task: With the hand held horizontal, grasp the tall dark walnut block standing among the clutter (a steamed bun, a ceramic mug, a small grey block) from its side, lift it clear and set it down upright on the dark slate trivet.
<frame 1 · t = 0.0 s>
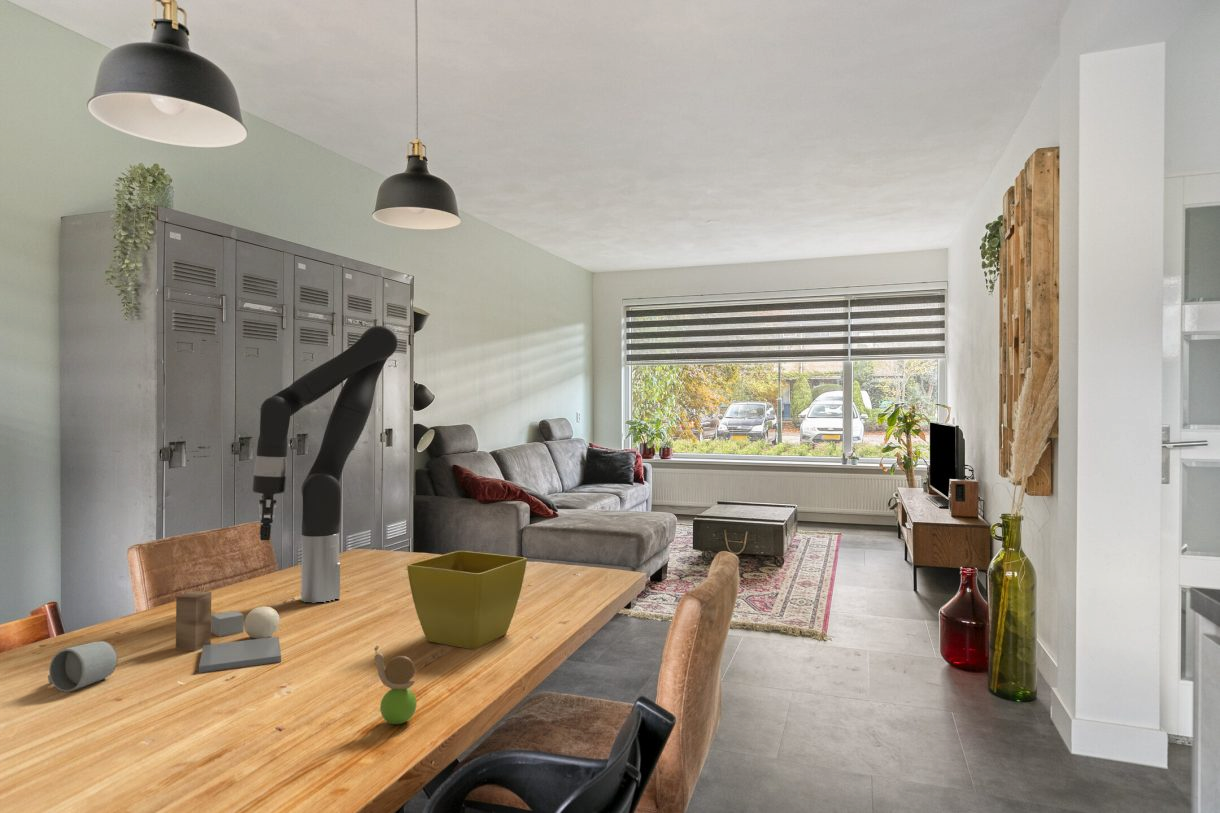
hand: (264, 537, 184), 17 cm above the table, tool pointing down, fingers open, 8 cm apart
grey block: (227, 632, 161), on the table
walnut block: (193, 647, 150), on the table
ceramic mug: (77, 685, 129), on the table
snail figurine: (395, 724, 113), on the table
flower pot: (468, 639, 157), on the table
slate trivet: (241, 656, 145), on the table
steamed bun: (262, 638, 157), on the table
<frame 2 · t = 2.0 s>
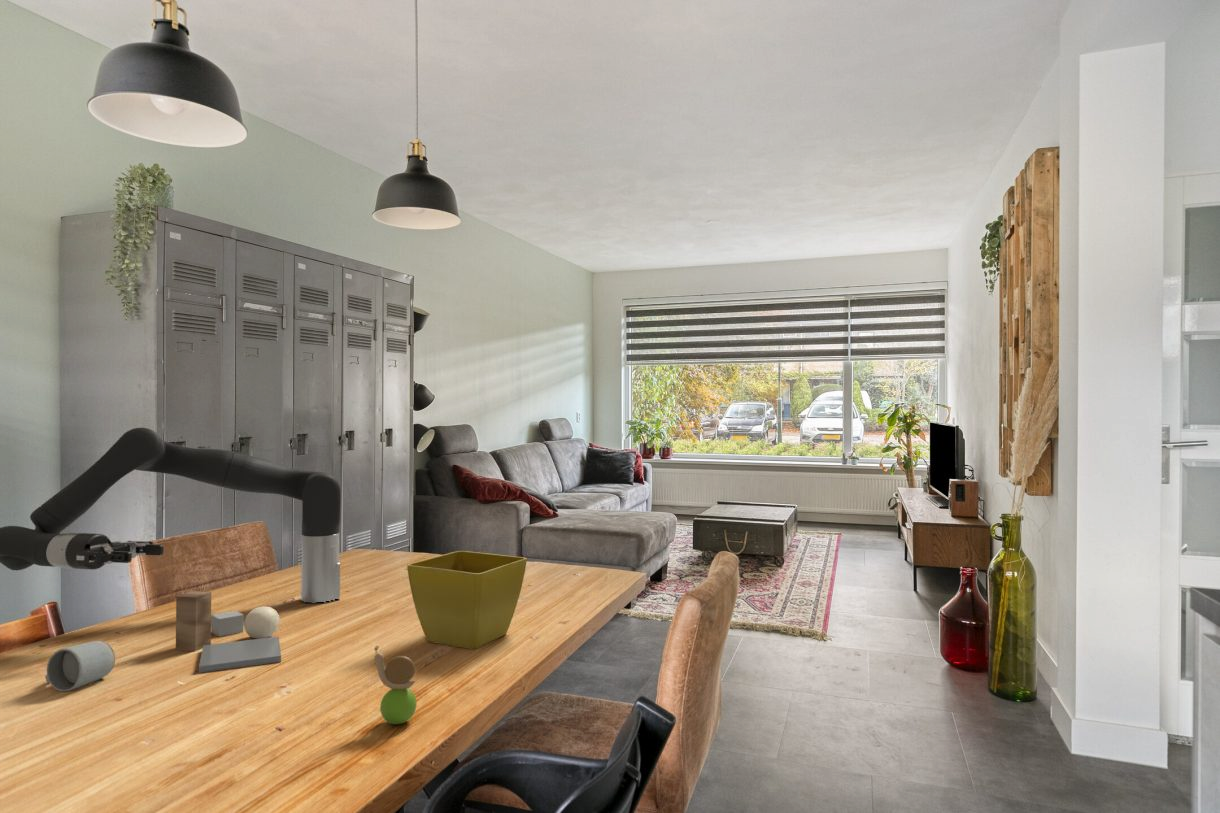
hand: (146, 553, 152), 19 cm above the table, tool horizontal, fingers open, 8 cm apart
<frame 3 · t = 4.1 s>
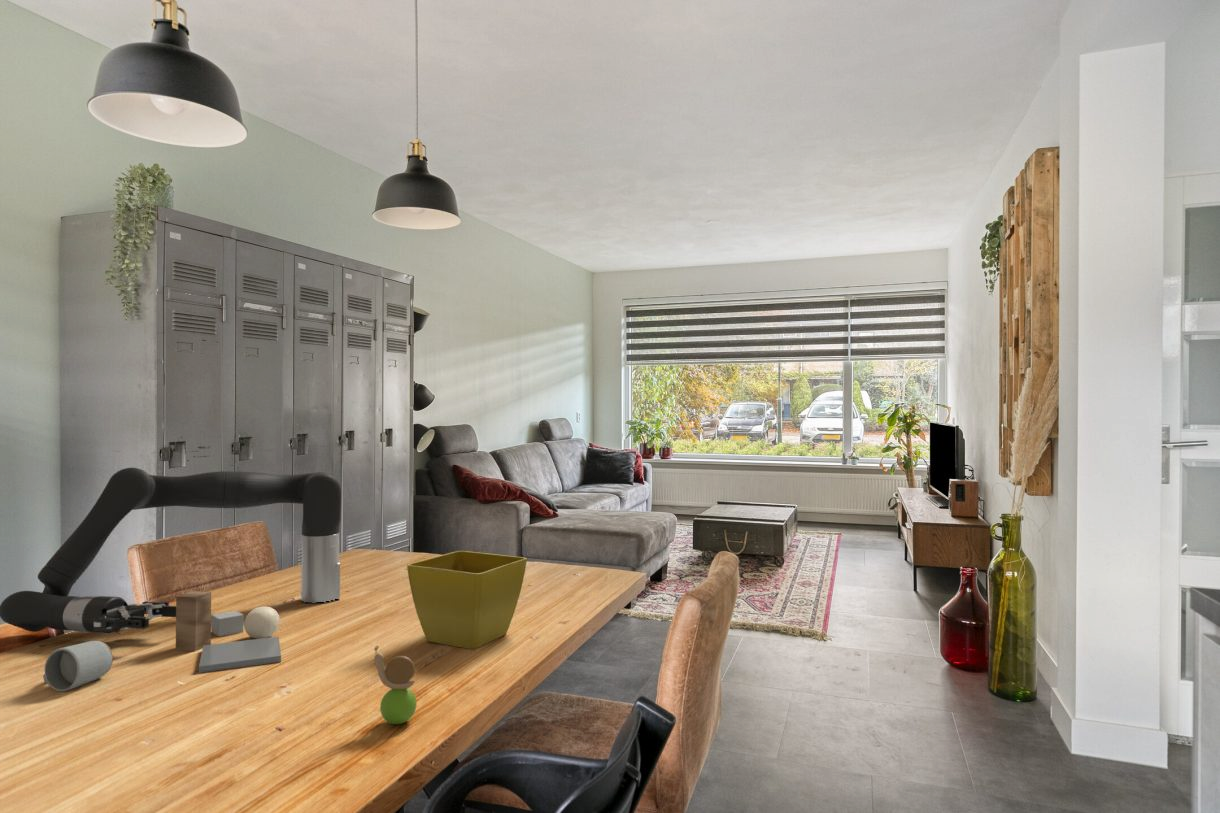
hand: (163, 617, 152), 6 cm above the table, tool horizontal, fingers open, 8 cm apart
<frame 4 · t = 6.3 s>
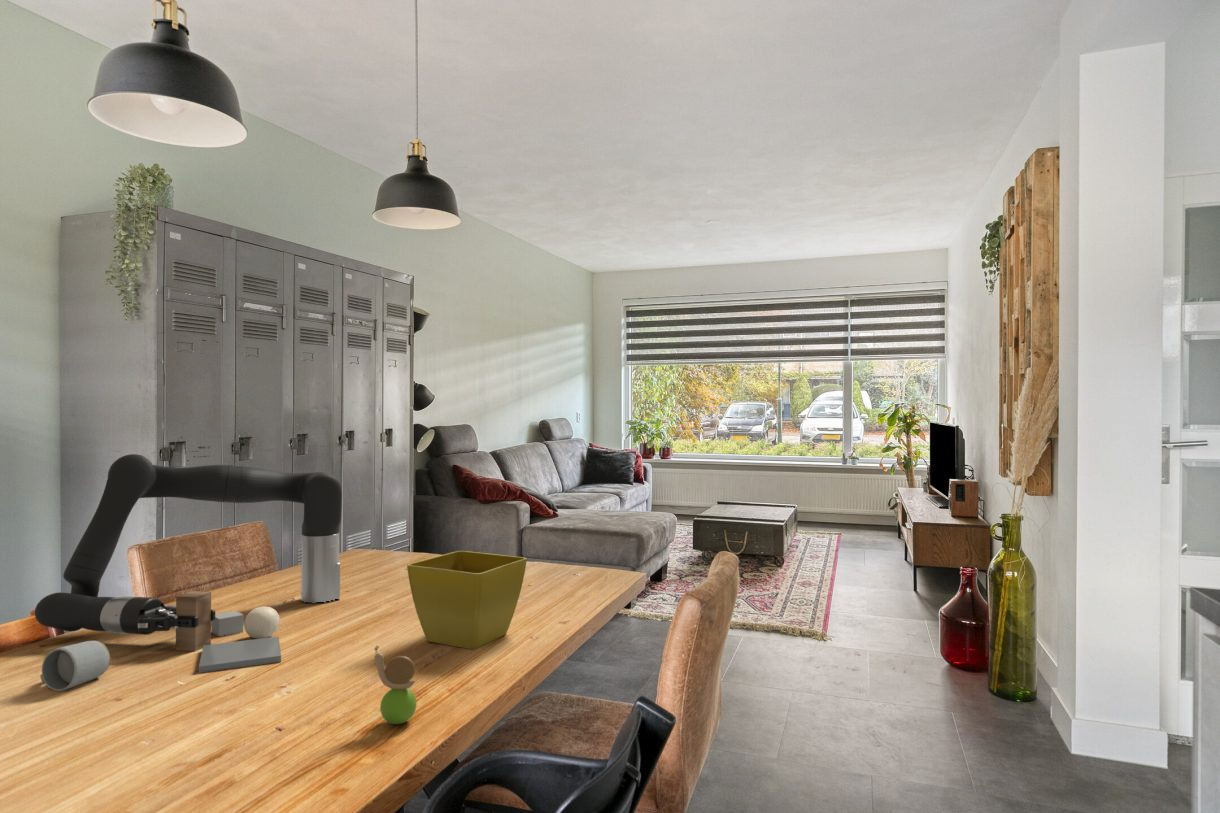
hand: (205, 618, 150), 6 cm above the table, tool horizontal, fingers closed on walnut block, 4 cm apart
walnut block: (193, 647, 150), on the table, touching gripper
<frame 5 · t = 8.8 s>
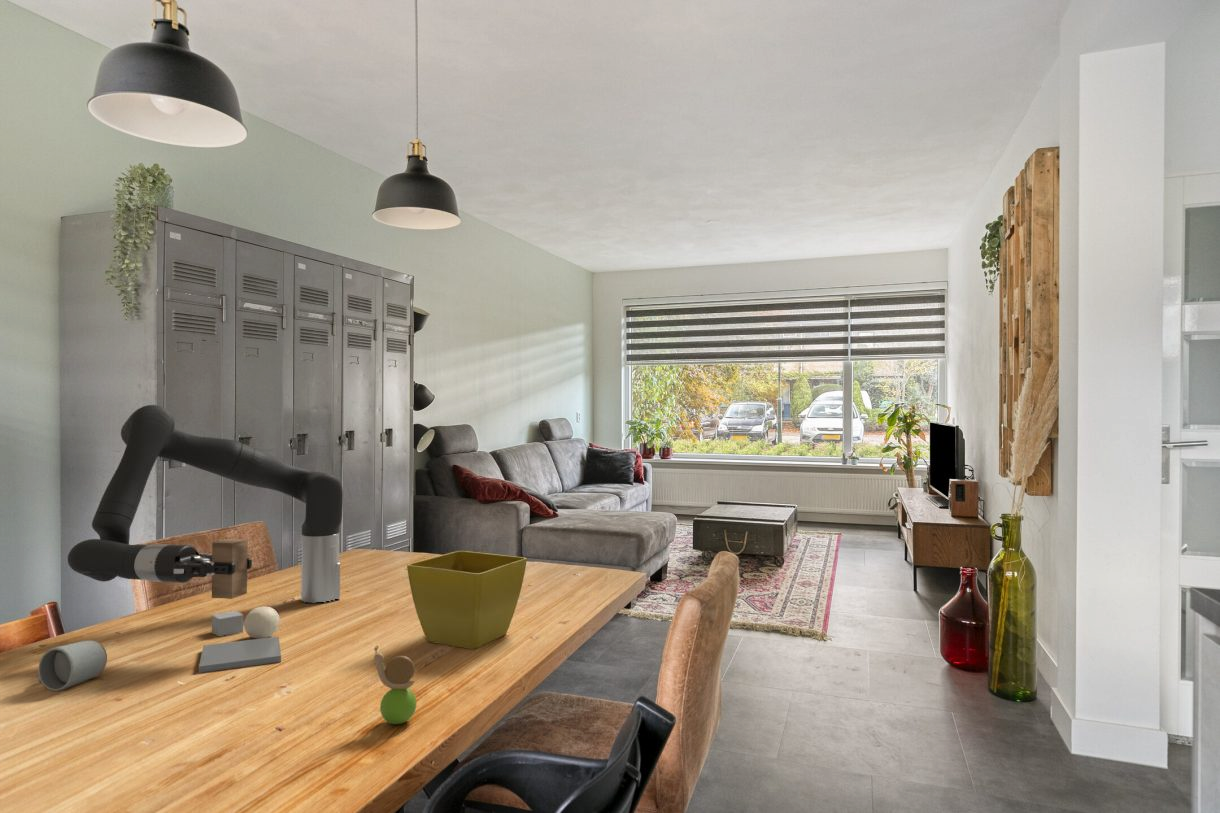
hand: (242, 566, 146), 18 cm above the table, tool horizontal, fingers closed on walnut block, 4 cm apart
walnut block: (229, 595, 146), point 12 cm above the table, touching gripper
when the fingers open (9 cm above the table, at t = 11.3 s): walnut block drops 1 cm, resting on slate trivet.
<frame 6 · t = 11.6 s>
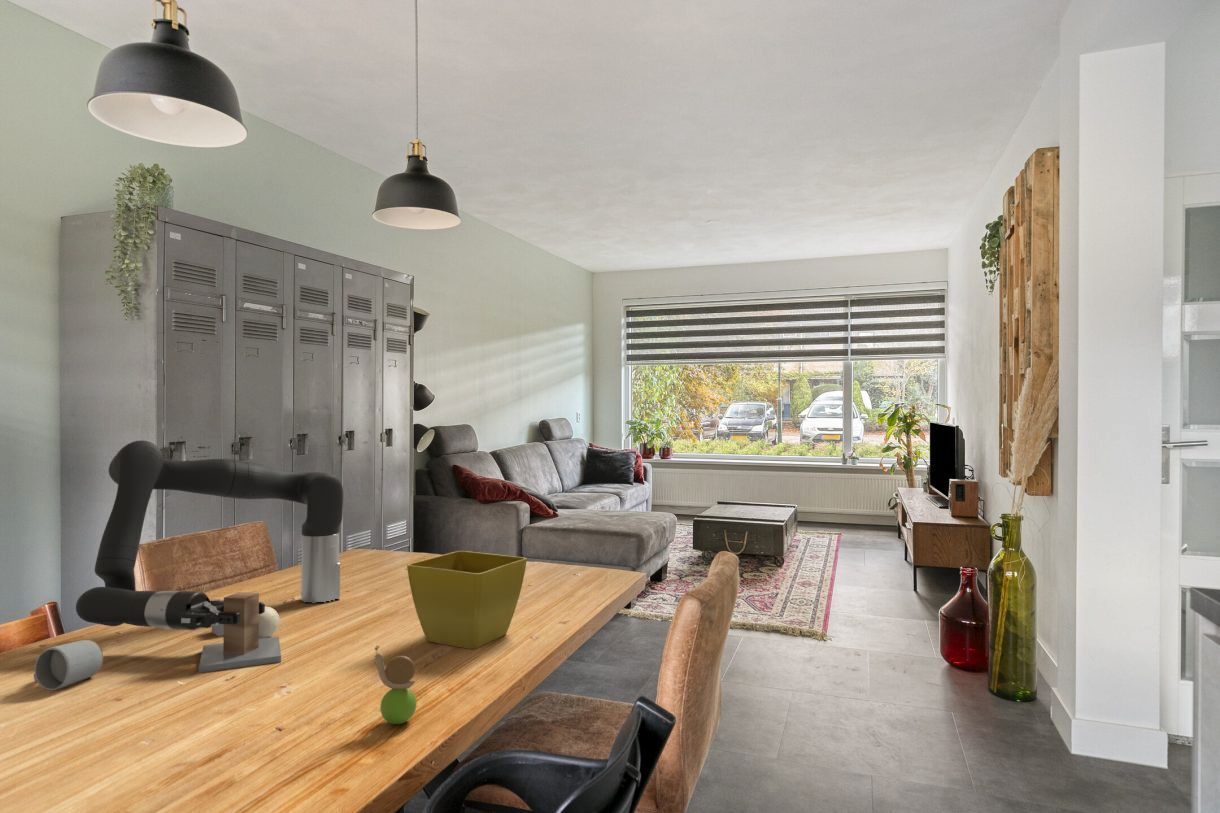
hand: (251, 613, 144), 9 cm above the table, tool horizontal, fingers open, 7 cm apart
walnut block: (241, 650, 145), point 1 cm above the table, touching slate trivet
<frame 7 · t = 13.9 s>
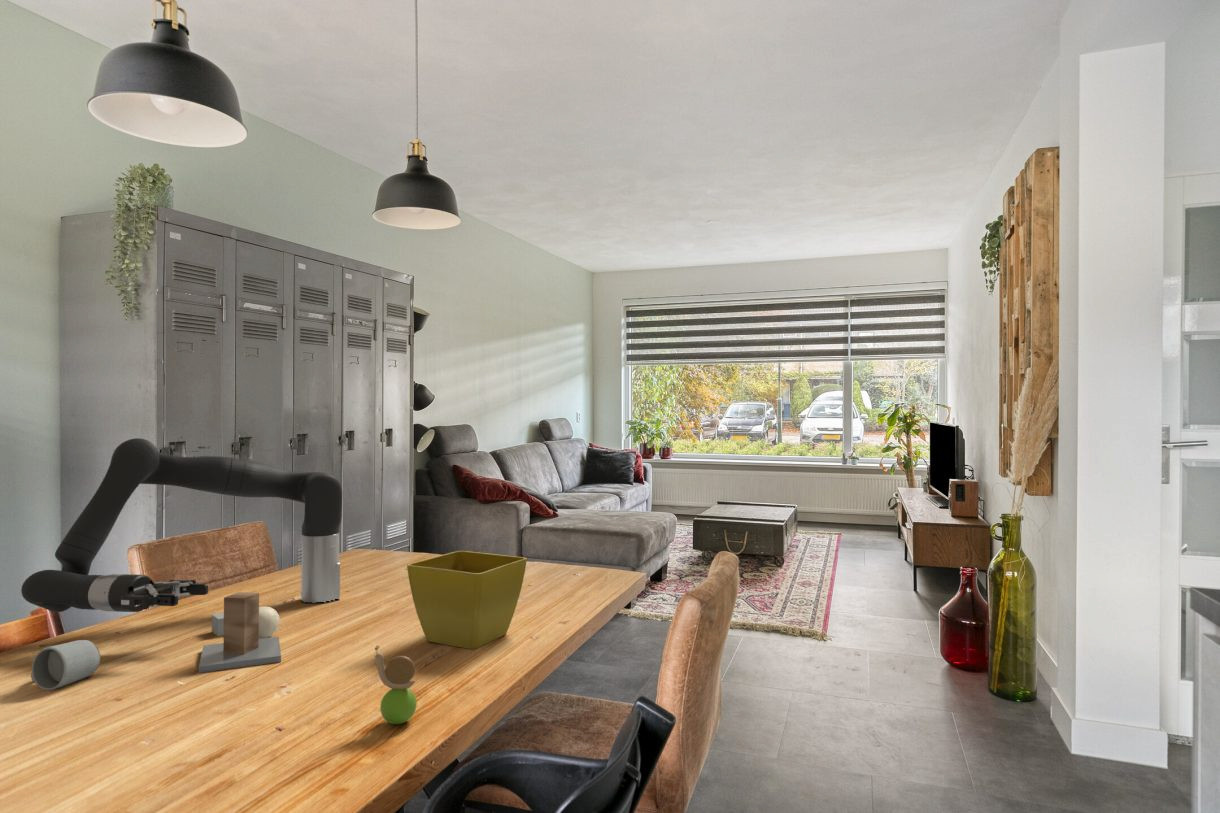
hand: (192, 594, 147), 12 cm above the table, tool horizontal, fingers open, 8 cm apart
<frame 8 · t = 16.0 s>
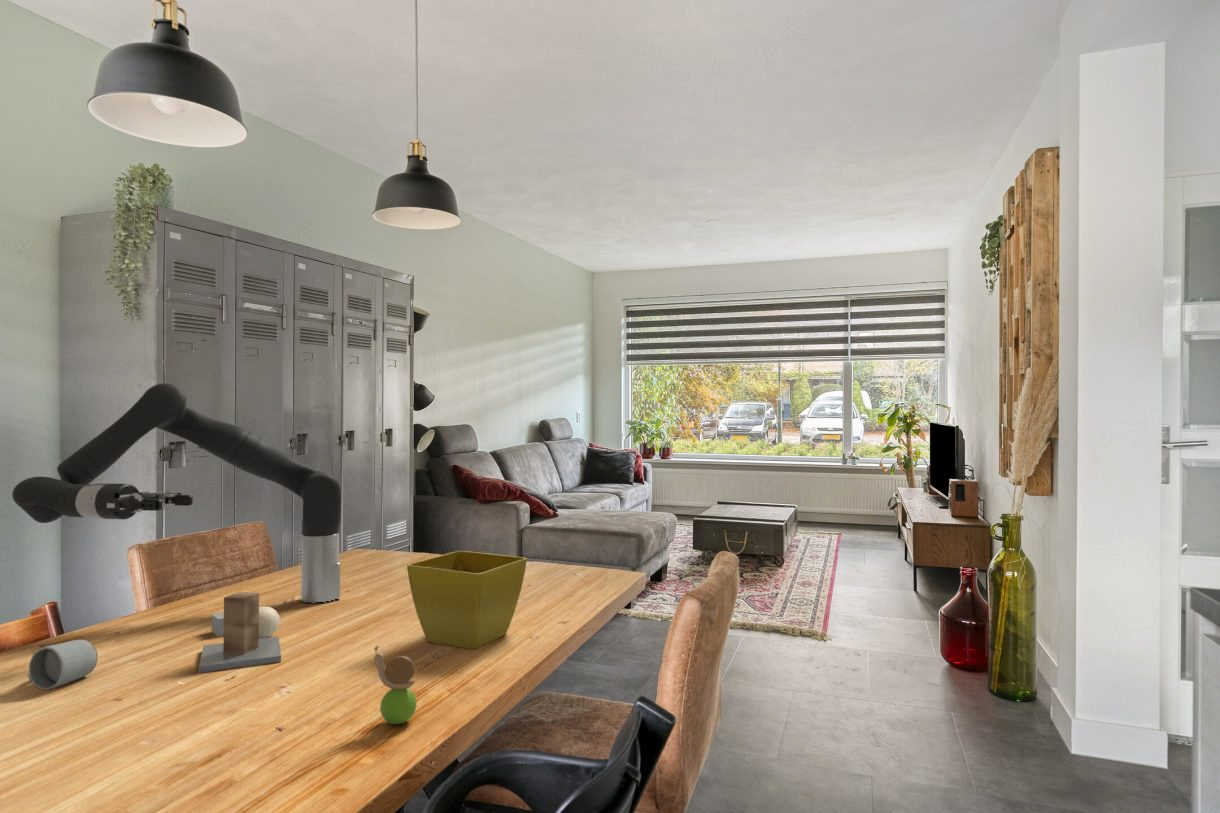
hand: (176, 502, 151), 30 cm above the table, tool horizontal, fingers open, 8 cm apart
at the end: walnut block inside the target area on the slate trivet (0.0 cm from its centre), point 1.2 cm above the slate trivet's base; walnut block tilted 0°; the gripper is holding nothing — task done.
